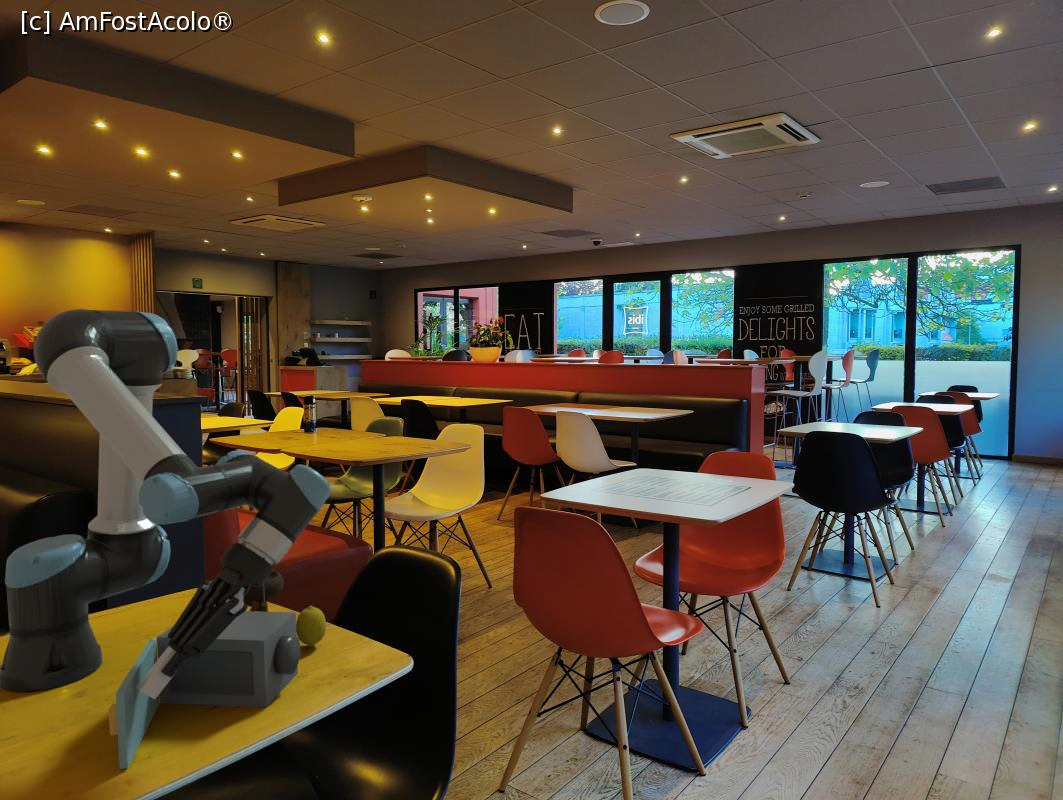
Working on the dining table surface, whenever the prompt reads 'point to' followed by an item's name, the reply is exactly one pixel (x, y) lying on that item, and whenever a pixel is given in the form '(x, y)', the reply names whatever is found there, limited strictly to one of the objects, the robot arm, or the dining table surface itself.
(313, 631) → the lemon
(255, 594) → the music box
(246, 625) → the case
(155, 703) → the side door
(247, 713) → the dining table surface
